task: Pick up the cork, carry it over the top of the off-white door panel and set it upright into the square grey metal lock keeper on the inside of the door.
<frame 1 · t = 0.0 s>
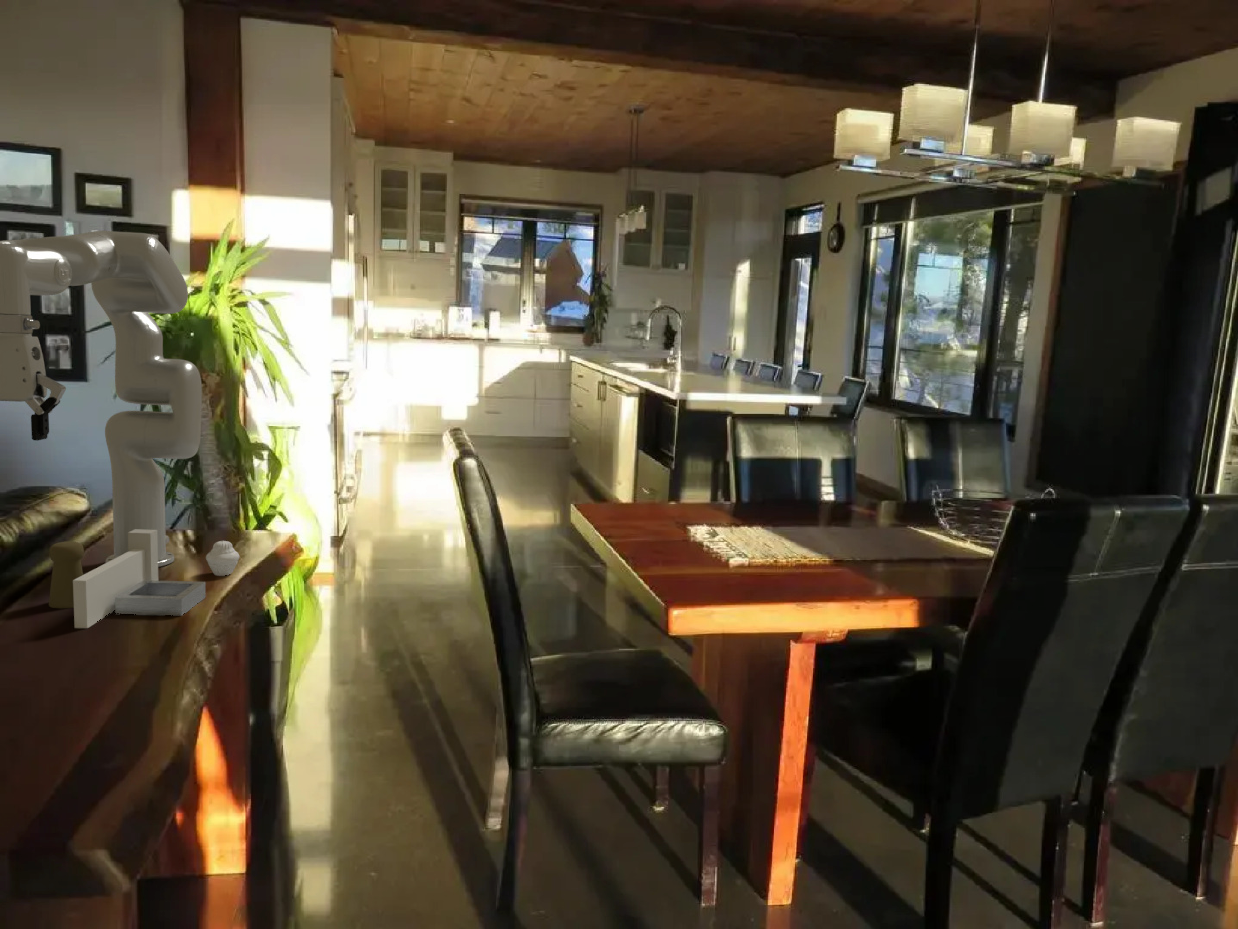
hand: (6, 438, 140), 31 cm above the table, tool pointing down, fingers open, 9 cm apart
lock keeper: (162, 605, 161), on the table
door panel: (112, 608, 158), on the table
muffin: (223, 575, 183), on the table
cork: (68, 604, 160), on the table
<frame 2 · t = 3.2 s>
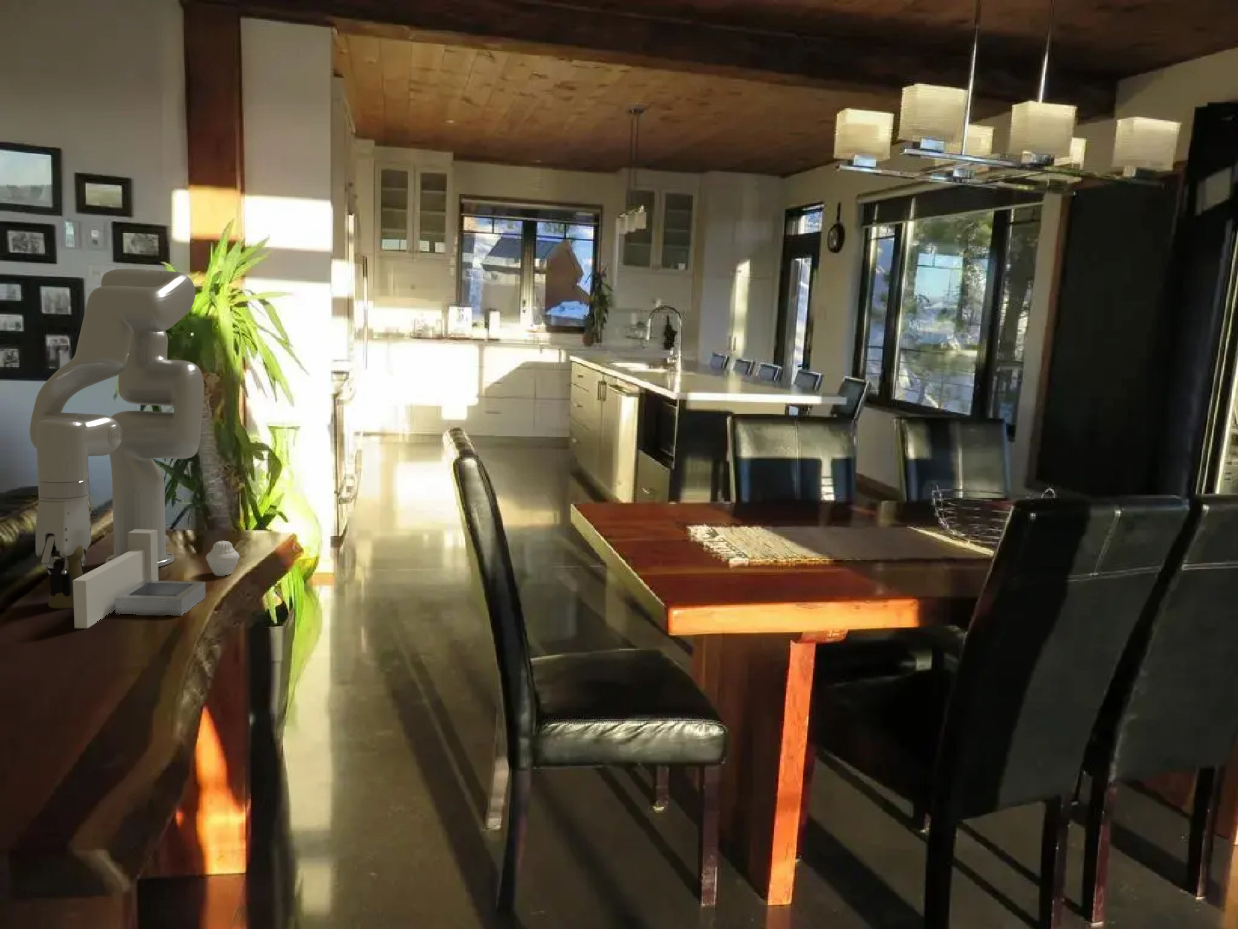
hand: (67, 591, 159), 2 cm above the table, tool pointing down, fingers closed on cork, 3 cm apart
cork: (68, 604, 160), on the table, touching gripper
everything else where it was.
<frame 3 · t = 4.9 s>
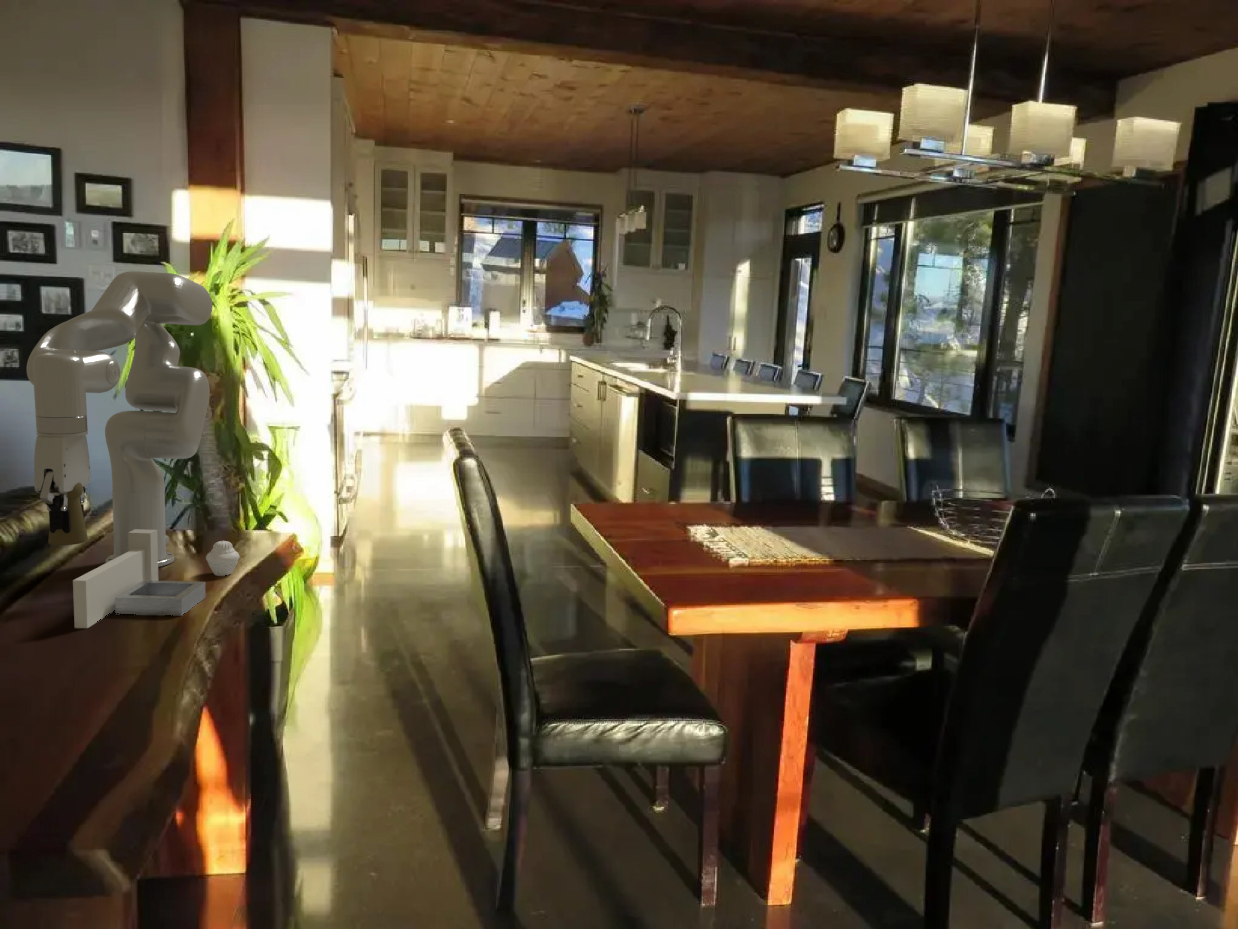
hand: (67, 528, 159), 13 cm above the table, tool pointing down, fingers closed on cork, 3 cm apart
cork: (68, 542, 159), point 11 cm above the table, touching gripper
everything else where it was.
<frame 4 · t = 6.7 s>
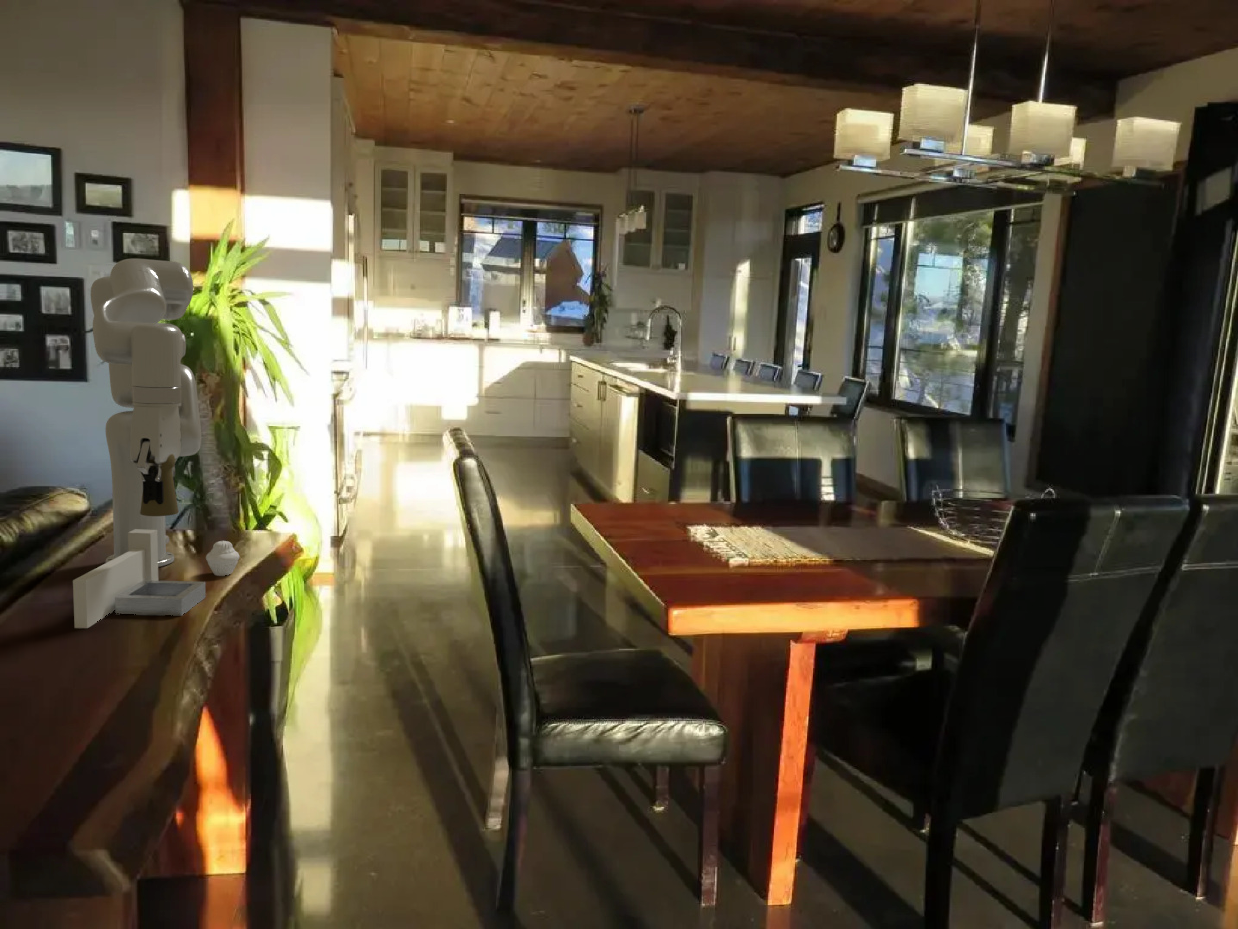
hand: (159, 500, 158), 19 cm above the table, tool pointing down, fingers closed on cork, 3 cm apart
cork: (159, 513, 159), point 17 cm above the table, touching gripper
everything else where it was.
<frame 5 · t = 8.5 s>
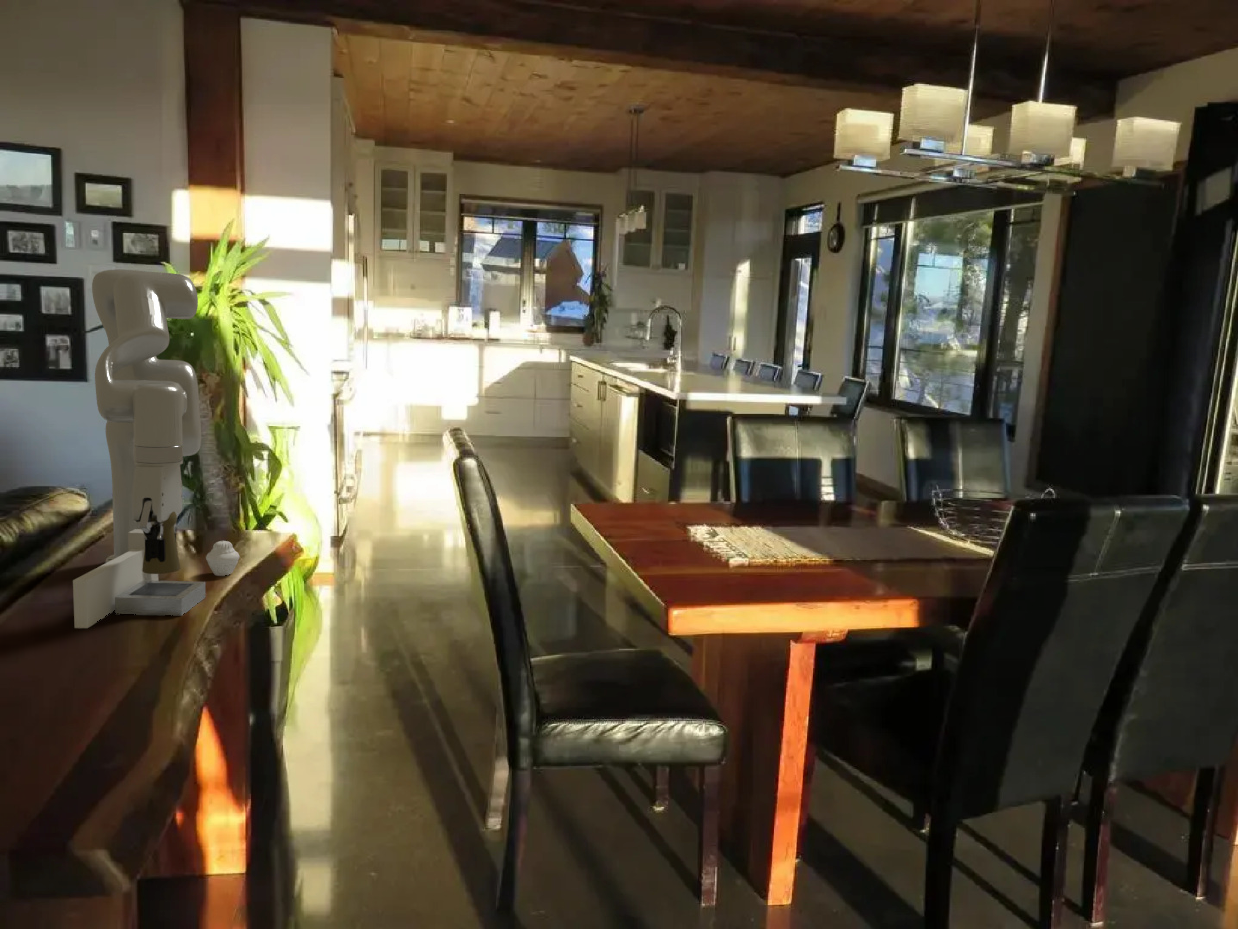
hand: (161, 557, 160), 9 cm above the table, tool pointing down, fingers closed on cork, 3 cm apart
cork: (161, 570, 160), point 6 cm above the table, touching gripper
everything else where it was.
when the fingers open (4 cm above the table, at t = 9.8 s): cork drops 2 cm, resting in lock keeper.
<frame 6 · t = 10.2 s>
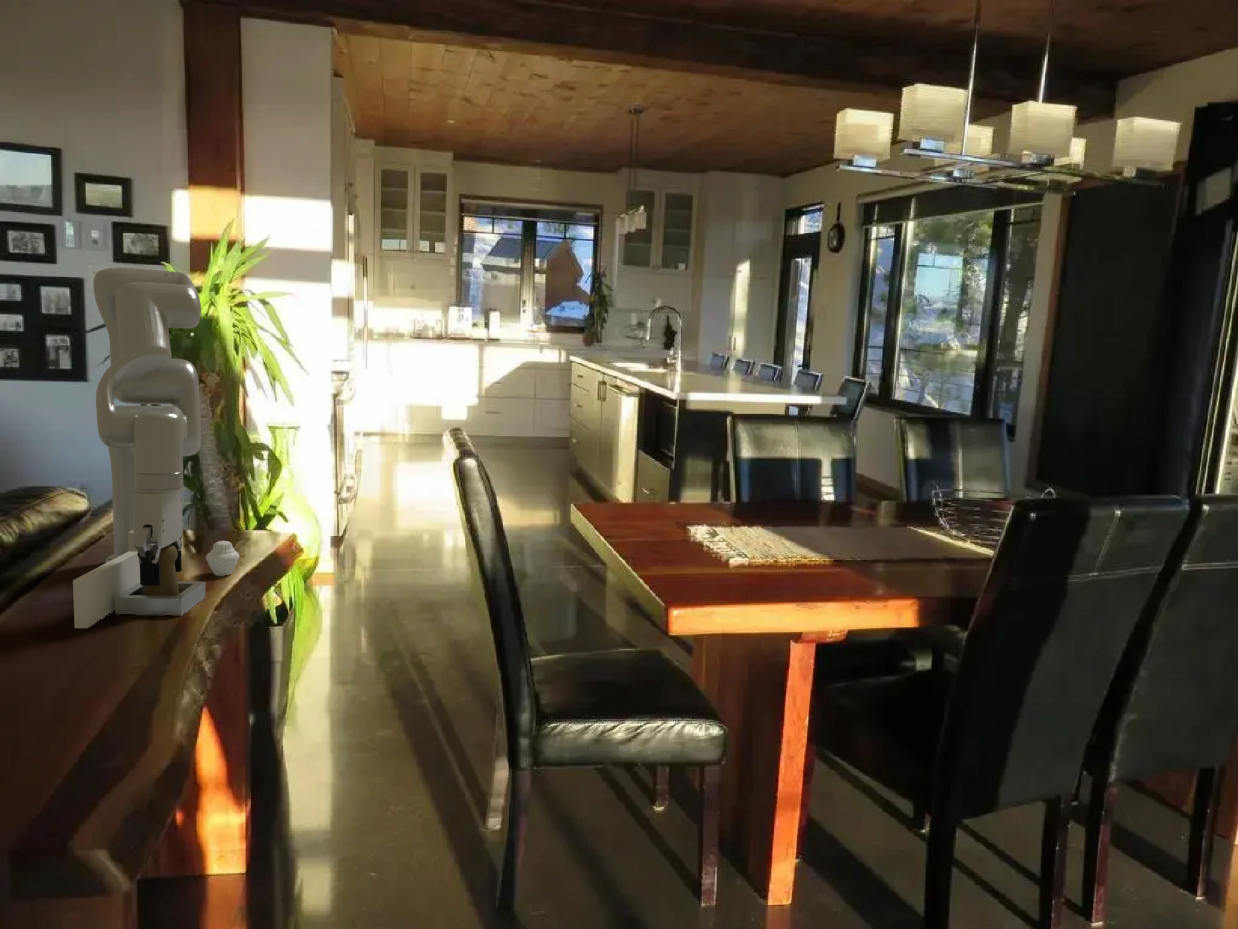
hand: (161, 577, 160), 5 cm above the table, tool pointing down, fingers open, 8 cm apart
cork: (162, 606, 162), resting in lock keeper
everything else where it was.
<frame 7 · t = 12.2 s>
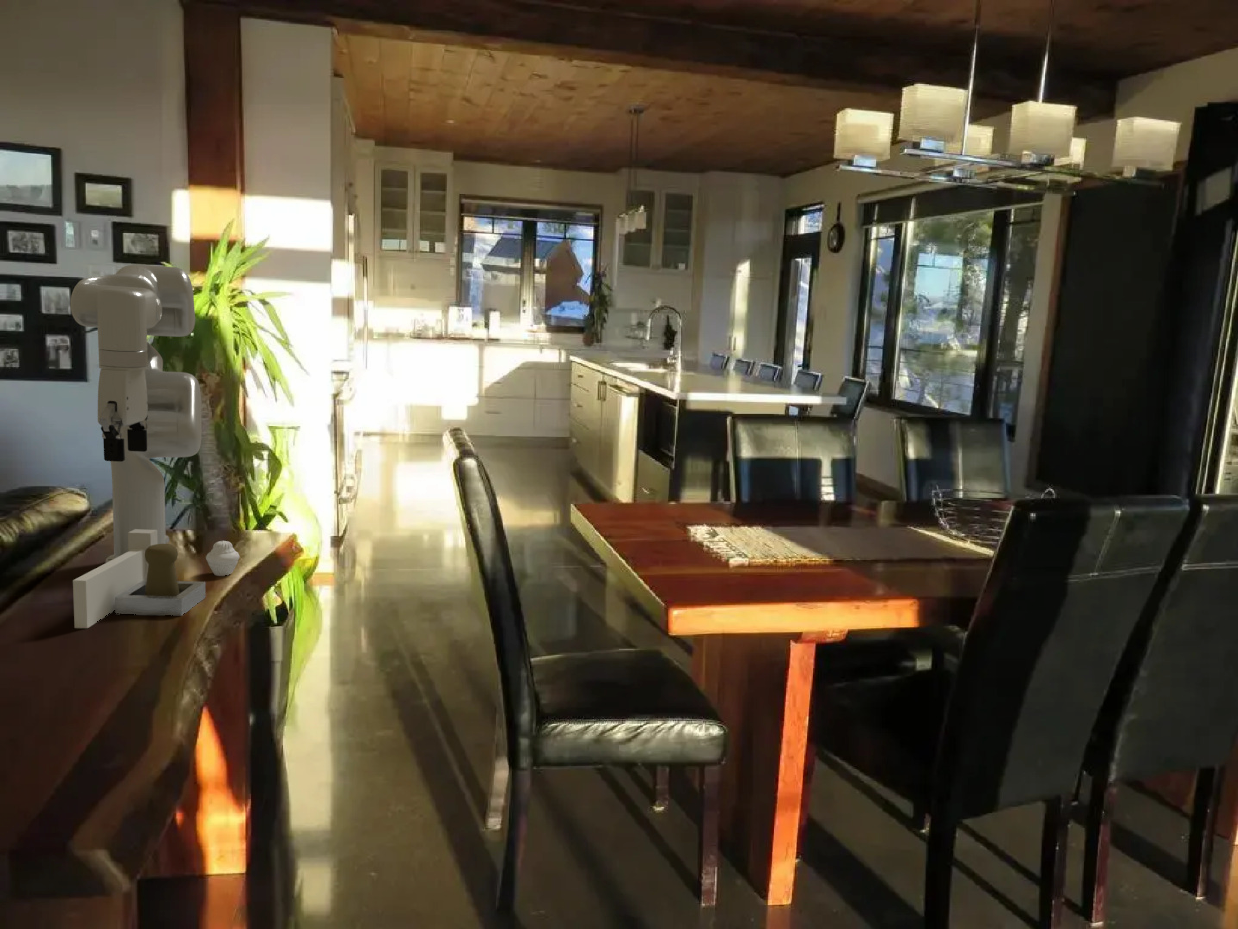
hand: (126, 455, 162), 26 cm above the table, tool pointing down, fingers open, 9 cm apart
nothing on the table moved.
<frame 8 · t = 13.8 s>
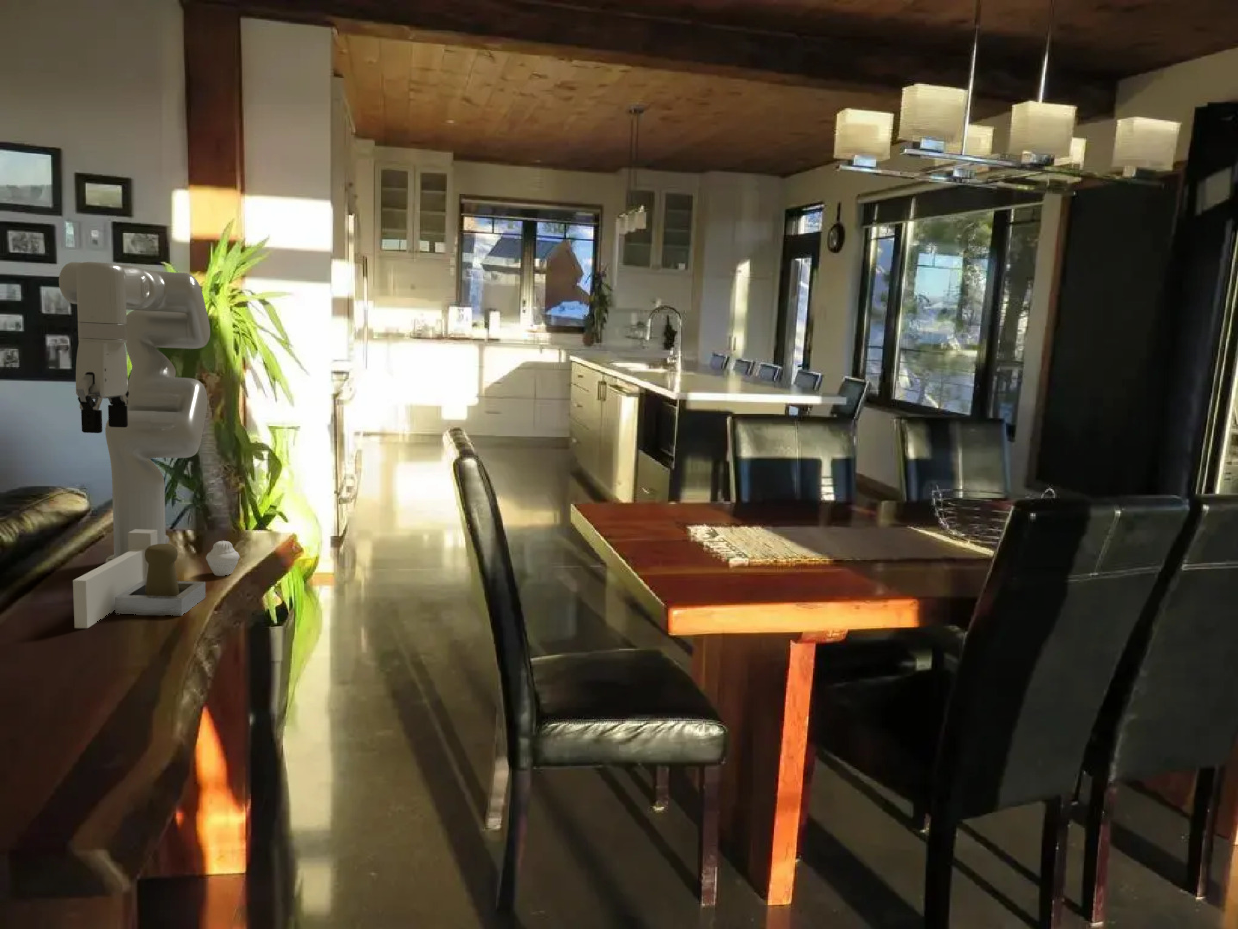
hand: (105, 429, 163), 30 cm above the table, tool pointing down, fingers open, 9 cm apart
nothing on the table moved.
at the end: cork 0.5 cm off-centre on the lock keeper, point 0.0 cm above the lock keeper's base; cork tilted 0°; the gripper is holding nothing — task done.
